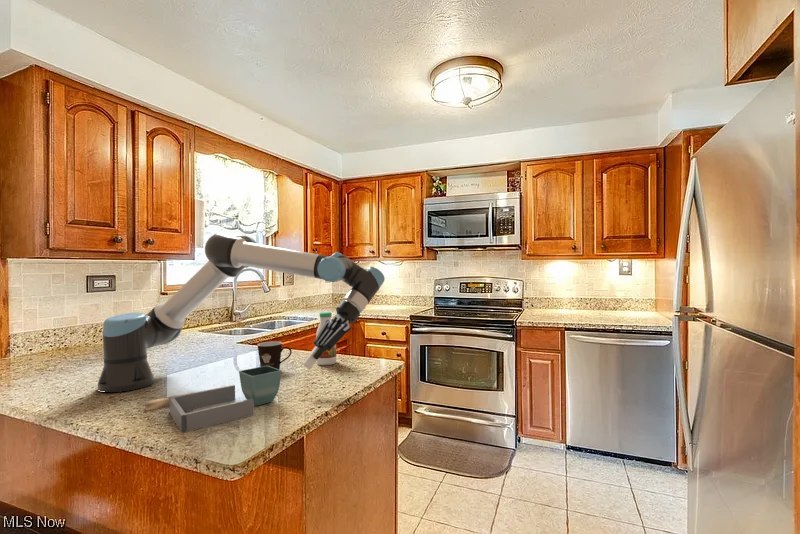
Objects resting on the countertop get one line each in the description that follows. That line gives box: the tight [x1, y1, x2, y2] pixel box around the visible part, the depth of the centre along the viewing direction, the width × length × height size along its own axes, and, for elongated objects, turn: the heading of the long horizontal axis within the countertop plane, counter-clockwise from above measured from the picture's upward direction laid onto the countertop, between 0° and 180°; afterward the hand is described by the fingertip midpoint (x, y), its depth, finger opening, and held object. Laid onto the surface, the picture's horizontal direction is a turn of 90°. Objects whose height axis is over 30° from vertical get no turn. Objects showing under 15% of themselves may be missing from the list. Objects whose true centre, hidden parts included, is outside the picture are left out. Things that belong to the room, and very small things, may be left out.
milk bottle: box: [315, 311, 338, 366], centre depth 154 cm, size 8×8×20 cm
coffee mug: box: [257, 341, 293, 370], centre depth 144 cm, size 12×9×10 cm
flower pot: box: [238, 366, 282, 407], centre depth 111 cm, size 9×9×9 cm
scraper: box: [144, 391, 195, 411], centre depth 112 cm, size 15×8×2 cm, turn 129°
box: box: [168, 384, 255, 434], centre depth 103 cm, size 16×17×4 cm
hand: (306, 366), depth 119 cm, fingers closed
